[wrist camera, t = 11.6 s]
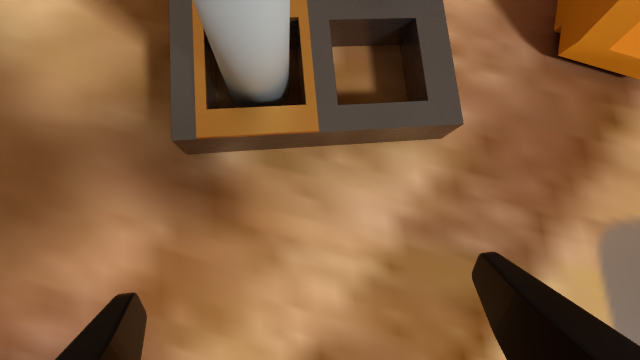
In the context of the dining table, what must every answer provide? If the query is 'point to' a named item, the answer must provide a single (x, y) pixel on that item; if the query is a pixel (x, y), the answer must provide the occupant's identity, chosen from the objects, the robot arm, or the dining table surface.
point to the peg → (250, 48)
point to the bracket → (601, 33)
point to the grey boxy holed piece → (319, 80)
